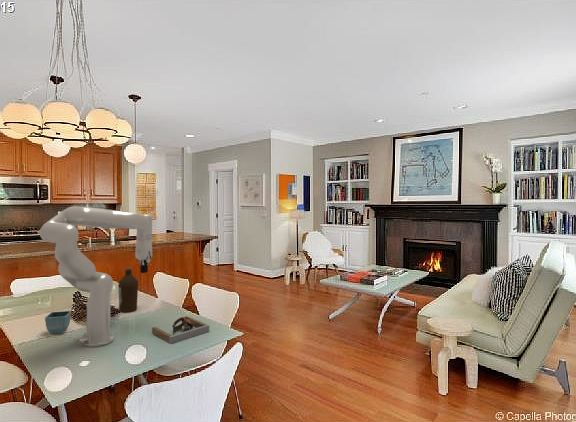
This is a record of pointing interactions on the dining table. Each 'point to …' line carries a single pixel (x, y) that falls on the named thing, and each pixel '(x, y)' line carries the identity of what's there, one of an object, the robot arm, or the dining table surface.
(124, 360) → the dining table surface
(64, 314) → the flower pot
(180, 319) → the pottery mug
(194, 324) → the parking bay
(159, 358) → the dining table surface
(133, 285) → the olive oil
